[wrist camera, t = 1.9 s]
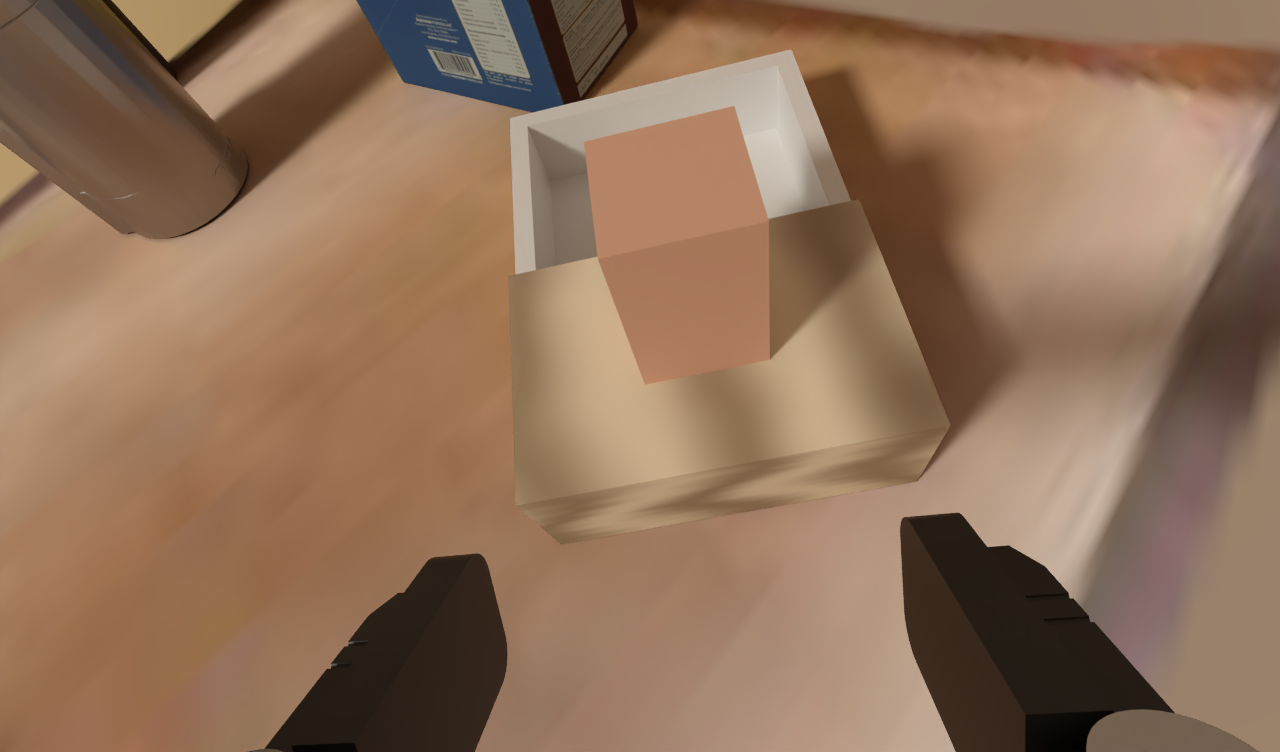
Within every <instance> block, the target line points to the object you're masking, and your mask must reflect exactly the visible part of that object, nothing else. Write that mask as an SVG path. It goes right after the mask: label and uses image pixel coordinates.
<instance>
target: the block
mask: <svg viewBox="0 0 1280 752" xmlns="http://www.w3.org/2000/svg"><path fill="white" fill-rule="evenodd" d="M584 148H585V157H586V165H587V173H588V182H589V190H590V199H591V207H592V215H593V224H594V232H595V240H596V249H597V257H598V261H599V264H600V266H601V269H602V272H603V274H604V277H605V280H606V282H607V285H608V288H609V290H610V293H611V296H612V298H613V301H614V304H615V306H616V309H617V312H618V314H619V317H620V320H621V322H622V325H623V328H624V330H625V333H626V336H627V338H628V341H629V344H630V346H631V349H632V352H633V354H634V357H635V360H636V362H637V365H638V368H639V370H640V373H641V376H642V378H643V381H644V384H645V385H646V384H651V383H656V382H661V381H666V380H671V379H676V378H681V377H686V376H691V375H697V374H702V373H707V372H712V371H717V370H722V369H727V368H732V367H737V366H742V365H747V364H752V363H757V362H762V361H767V360H770V310H769V220H768V216H767V213H766V210H765V207H764V203H763V200H762V197H761V193H760V190H759V187H758V183H757V180H756V177H755V173H754V170H753V167H752V163H751V160H750V157H749V153H748V150H747V147H746V144H745V140H744V137H743V134H742V130H741V127H740V124H739V120H738V117H737V114H736V110H735V107H734V106H731V107H727V108H723V109H719V110H715V111H710V112H706V113H702V114H698V115H694V116H689V117H685V118H681V119H677V120H673V121H668V122H664V123H660V124H656V125H652V126H647V127H643V128H639V129H635V130H631V131H626V132H622V133H618V134H614V135H610V136H605V137H601V138H597V139H593V140H589V141H584Z"/></svg>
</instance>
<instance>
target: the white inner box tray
mask: <svg viewBox="0 0 1280 752" xmlns="http://www.w3.org/2000/svg"><path fill="white" fill-rule="evenodd" d="M731 106H734V107H735V110H736V114H737V117H738V120H739V124H740V127H741V130H742V134H743V137H744V140H745V144H746V147H747V150H748V153H749V157H750V160H751V163H752V167H753V170H754V173H755V177H756V180H757V183H758V187H759V190H760V193H761V197H762V200H763V203H764V207H765V210H766V213H767V216H768V219H770V218H775V217H779V216H784V215H788V214H793V213H798V212H802V211H807V210H811V209H816V208H820V207H825V206H829V205H834V204H838V203H843V202H848V201H851V199H850V197H849V194H848V192H847V189H846V187H845V184H844V182H843V179H842V177H841V174H840V171H839V169H838V166H837V164H836V161H835V159H834V156H833V154H832V151H831V149H830V146H829V144H828V141H827V139H826V136H825V134H824V131H823V128H822V126H821V123H820V121H819V118H818V116H817V113H816V111H815V108H814V106H813V103H812V101H811V98H810V96H809V93H808V91H807V88H806V85H805V83H804V80H803V78H802V75H801V73H800V70H799V68H798V65H797V63H796V60H795V58H794V55H793V53H792V50H787V51H783V52H779V53H775V54H770V55H766V56H762V57H758V58H754V59H750V60H746V61H742V62H738V63H734V64H730V65H725V66H721V67H717V68H713V69H709V70H705V71H701V72H697V73H693V74H689V75H685V76H680V77H676V78H672V79H668V80H664V81H660V82H656V83H652V84H648V85H644V86H640V87H635V88H631V89H627V90H623V91H619V92H615V93H611V94H607V95H603V96H599V97H595V98H590V99H586V100H582V101H578V102H574V103H570V104H566V105H562V106H558V107H554V108H550V109H545V110H541V111H537V112H533V113H529V114H525V115H521V116H517V117H513V118H510V135H511V162H512V189H513V216H514V243H515V270H516V274H520V273H525V272H529V271H534V270H539V269H543V268H548V267H552V266H557V265H561V264H566V263H570V262H575V261H579V260H584V259H589V258H593V257H597V249H596V240H595V232H594V224H593V215H592V207H591V199H590V190H589V182H588V173H587V165H586V157H585V148H584V141H589V140H593V139H597V138H601V137H605V136H610V135H614V134H618V133H622V132H626V131H631V130H635V129H639V128H643V127H647V126H652V125H656V124H660V123H664V122H668V121H673V120H677V119H681V118H685V117H689V116H694V115H698V114H702V113H706V112H710V111H715V110H719V109H723V108H727V107H731Z"/></svg>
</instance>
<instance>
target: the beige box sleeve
mask: <svg viewBox="0 0 1280 752" xmlns="http://www.w3.org/2000/svg"><path fill="white" fill-rule="evenodd" d="M768 220H769V310H770V360H767V361H762V362H757V363H752V364H747V365H742V366H737V367H732V368H727V369H722V370H717V371H712V372H707V373H702V374H697V375H691V376H686V377H681V378H676V379H671V380H666V381H661V382H656V383H651V384H646V385H645V384H644V381H643V378H642V376H641V373H640V370H639V368H638V365H637V362H636V360H635V357H634V354H633V352H632V349H631V346H630V344H629V341H628V338H627V336H626V333H625V330H624V328H623V325H622V322H621V320H620V317H619V314H618V312H617V309H616V306H615V304H614V301H613V298H612V296H611V293H610V290H609V288H608V285H607V282H606V280H605V277H604V274H603V272H602V269H601V266H600V264H599V261H598V257H593V258H589V259H584V260H579V261H575V262H570V263H566V264H561V265H557V266H552V267H548V268H543V269H539V270H534V271H529V272H525V273H520V274H516V275H511V276H509V302H510V335H511V368H512V401H513V434H514V467H515V500H516V506H517V507H518V508H519V509H520V510H521V511H523V512H524V513H525V514H526V515H527V516H529V517H530V518H531V519H532V520H533V521H534V522H536V523H537V524H538V525H539V526H540V527H541V528H543V529H544V530H545V531H546V532H547V533H548V534H550V535H551V536H552V537H553V538H554V539H556V540H557V541H558V542H559V543H560V544H565V543H571V542H577V541H582V540H588V539H594V538H599V537H605V536H611V535H616V534H622V533H628V532H633V531H639V530H645V529H650V528H656V527H661V526H667V525H673V524H678V523H684V522H690V521H695V520H701V519H707V518H712V517H718V516H724V515H729V514H735V513H740V512H746V511H752V510H757V509H763V508H769V507H774V506H780V505H786V504H791V503H797V502H803V501H808V500H814V499H820V498H825V497H831V496H836V495H842V494H848V493H853V492H859V491H865V490H870V489H876V488H882V487H887V486H893V485H899V484H904V483H910V482H915V481H918V479H919V478H920V476H921V474H922V473H923V471H924V469H925V468H926V466H927V464H928V463H929V461H930V459H931V458H932V456H933V454H934V453H935V451H936V449H937V448H938V446H939V444H940V442H941V441H942V439H943V437H944V436H945V434H946V432H947V431H948V429H949V427H950V426H951V425H950V422H949V420H948V417H947V415H946V412H945V410H944V407H943V405H942V402H941V400H940V398H939V395H938V393H937V390H936V388H935V385H934V383H933V380H932V378H931V375H930V373H929V370H928V368H927V365H926V363H925V360H924V358H923V356H922V353H921V351H920V348H919V346H918V343H917V341H916V338H915V336H914V333H913V331H912V328H911V326H910V323H909V321H908V318H907V316H906V313H905V311H904V309H903V306H902V304H901V301H900V299H899V296H898V294H897V291H896V289H895V286H894V284H893V281H892V279H891V276H890V274H889V271H888V269H887V267H886V264H885V262H884V259H883V257H882V254H881V252H880V249H879V247H878V244H877V242H876V239H875V237H874V234H873V232H872V229H871V227H870V224H869V222H868V220H867V217H866V215H865V212H864V210H863V207H862V205H861V202H860V200H859V199H857V200H852V201H848V202H843V203H838V204H834V205H829V206H825V207H820V208H816V209H811V210H807V211H802V212H798V213H793V214H788V215H784V216H779V217H775V218H770V219H768Z"/></svg>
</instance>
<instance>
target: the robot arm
mask: <svg viewBox="0 0 1280 752" xmlns="http://www.w3.org/2000/svg"><path fill="white" fill-rule="evenodd" d="M0 143H2V144H3V145H4V146H6V147H7V148H8V149H10V150H11V151H12V152H14V153H15V154H16V155H18V156H19V157H20V158H22V159H23V160H24V161H26V162H27V163H28V164H30V165H31V166H32V167H34V168H35V169H36V170H38V171H39V172H40V173H42V174H43V175H44V176H46V177H47V178H48V179H50V180H51V181H52V182H53V183H55V184H56V185H57V186H59V187H60V188H61V189H63V190H64V191H65V192H67V193H68V194H69V195H71V196H72V197H73V198H75V199H76V200H77V201H79V202H80V203H81V204H83V205H84V206H85V207H87V208H88V209H89V210H91V211H92V212H93V213H95V214H96V215H97V216H99V217H100V218H101V219H103V220H104V221H105V222H107V223H108V224H109V225H111V226H112V227H113V228H115V229H116V230H117V231H119V232H120V233H121V234H126V233H131V232H135V233H138V234H140V235H142V236H144V237H147V238H153V239H163V238H170V237H175V236H179V235H182V234H184V233H187V232H190V231H192V230H194V229H196V228H198V227H200V226H202V225H203V224H205V223H207V222H208V221H210V220H211V219H212V218H214V217H215V216H217V215H218V214H219V213H220V212H221V211H222V210H223V209H225V208H226V207H227V206H228V205H229V204H230V202H231V201H232V200H233V199H234V198H235V196H236V195H237V194H238V192H239V190H240V189H241V187H242V186H243V183H244V181H245V178H246V175H247V168H248V165H247V160H246V157H245V155H244V154H243V152H242V151H241V150H240V149H239V148H238V147H237V146H236V145H235V144H234V142H233V141H232V140H231V139H230V138H229V137H228V136H227V135H226V134H225V133H224V132H223V131H222V129H221V128H220V127H219V126H218V125H217V124H216V123H215V122H214V121H213V120H212V119H211V118H210V117H209V115H208V114H207V113H206V112H205V111H204V110H203V109H202V108H201V107H200V105H199V104H198V103H197V102H196V101H195V100H194V99H193V98H192V97H191V96H190V95H189V94H188V93H187V91H186V90H185V89H184V88H183V87H182V86H181V85H180V84H179V83H178V82H177V81H176V80H175V79H174V77H173V76H172V75H171V74H170V73H169V72H168V71H167V70H166V69H165V68H164V67H163V66H162V65H161V63H160V62H159V61H158V60H157V59H156V58H155V57H154V56H153V55H152V54H151V53H150V52H149V51H148V49H147V48H146V47H145V46H144V45H143V44H142V43H141V42H140V41H139V40H138V39H137V38H136V37H135V36H134V34H133V33H132V32H131V31H130V30H129V29H128V28H127V27H126V26H125V25H124V24H123V23H122V22H121V20H120V19H119V18H118V17H117V16H116V15H115V14H114V13H113V12H112V11H111V10H110V9H109V8H108V6H107V5H106V4H105V3H104V2H103V1H102V0H0ZM900 537H901V556H902V576H903V595H904V613H905V621H906V627H907V632H908V637H909V641H910V645H911V648H912V652H913V654H914V657H915V660H916V662H917V664H918V667H919V669H920V671H921V674H922V676H923V678H924V680H925V683H926V685H927V687H928V689H929V692H930V694H931V696H932V699H933V701H934V703H935V705H936V708H937V710H938V712H939V714H940V717H941V719H942V721H943V724H944V726H945V728H946V730H947V733H948V735H949V737H950V739H951V742H952V744H953V746H954V749H955V751H956V752H1259V751H1257V750H1256V749H1254V748H1253V747H1252V746H1250V745H1249V744H1247V743H1245V742H1244V741H1242V740H1240V739H1238V738H1236V737H1235V736H1233V735H1231V734H1229V733H1227V732H1225V731H1223V730H1221V729H1219V728H1217V727H1215V726H1212V725H1209V724H1207V723H1204V722H1202V721H1199V720H1196V719H1193V718H1189V717H1186V716H1182V715H1179V714H1175V713H1174V712H1173V710H1172V709H1171V708H1170V707H1169V706H1168V705H1167V704H1166V703H1165V701H1164V700H1163V699H1162V698H1161V697H1160V696H1159V695H1158V694H1157V692H1156V691H1155V690H1154V689H1153V688H1152V687H1151V686H1150V684H1149V683H1148V682H1147V681H1146V680H1145V679H1144V678H1143V677H1142V675H1141V674H1140V673H1139V672H1138V671H1137V670H1136V669H1135V668H1134V666H1133V665H1132V664H1131V663H1130V662H1129V661H1128V660H1127V659H1126V657H1125V656H1124V655H1123V654H1122V653H1121V652H1120V651H1119V650H1118V648H1117V647H1116V646H1115V645H1114V644H1113V643H1112V642H1111V640H1110V639H1109V638H1108V637H1107V636H1106V635H1105V634H1104V633H1103V631H1102V630H1101V629H1100V628H1099V627H1098V626H1097V625H1096V624H1095V622H1090V620H1089V616H1088V615H1087V613H1086V612H1085V611H1084V610H1083V609H1082V608H1081V607H1080V605H1079V604H1078V603H1077V602H1076V601H1075V600H1074V599H1070V598H1069V593H1068V592H1067V591H1066V590H1065V589H1064V587H1063V586H1062V585H1061V584H1060V583H1059V582H1058V581H1057V580H1056V578H1055V577H1054V576H1053V575H1052V574H1051V573H1050V572H1049V571H1048V569H1047V568H1046V567H1045V566H1043V565H1042V564H1040V563H1038V562H1036V561H1035V560H1033V559H1031V558H1029V557H1028V556H1026V555H1024V554H1022V553H1021V552H1019V551H1017V550H1016V549H1014V548H1012V547H1010V546H997V547H987V546H986V545H985V544H984V542H983V541H982V540H981V539H980V537H979V536H978V535H977V533H976V532H975V531H974V529H973V528H972V527H971V526H970V524H969V523H968V522H967V520H966V519H965V518H964V517H963V516H962V515H961V514H960V513H949V514H937V515H926V516H914V517H904V518H903V519H902V521H901V527H900ZM348 642H349V645H348V647H344V648H343V649H342V650H341V652H340V653H339V654H338V655H337V657H336V658H335V659H334V661H333V662H332V663H331V664H332V666H331V669H326V671H325V672H324V673H323V675H322V676H321V677H320V678H319V680H318V681H317V682H316V684H315V685H314V686H313V687H312V689H311V690H310V691H309V692H308V694H307V695H306V696H305V698H304V699H303V700H302V701H301V703H300V704H299V705H298V707H297V708H296V709H295V710H294V712H293V713H292V714H291V715H290V717H289V718H288V719H287V721H286V722H285V723H284V724H283V726H282V727H281V728H280V730H279V731H278V732H277V733H276V735H275V736H274V737H273V738H272V740H271V741H270V742H269V744H268V745H267V746H266V747H265V749H259V750H254V751H249V752H475V750H476V747H477V745H478V742H479V740H480V738H481V735H482V733H483V730H484V728H485V725H486V723H487V720H488V718H489V716H490V713H491V711H492V708H493V706H494V703H495V701H496V698H497V696H498V693H499V691H500V689H501V686H502V684H503V681H504V677H505V673H506V667H507V642H506V636H505V632H504V628H503V624H502V620H501V616H500V612H499V608H498V604H497V600H496V596H495V592H494V588H493V584H492V580H491V576H490V572H489V568H488V565H487V563H486V560H485V559H484V557H483V556H482V555H480V554H467V555H456V556H444V557H434V558H431V559H429V560H428V561H427V562H426V564H425V565H424V566H423V568H422V569H421V570H420V572H419V573H418V574H417V576H416V577H415V579H414V580H413V581H412V583H411V584H410V585H409V587H408V588H407V589H406V591H405V592H404V593H398V594H396V595H395V596H394V597H392V598H391V599H390V600H388V601H387V602H386V603H385V604H383V605H382V606H381V607H379V608H378V609H377V610H375V611H374V612H373V613H372V614H370V615H369V616H368V617H367V618H366V620H365V621H364V622H363V623H362V625H361V626H360V627H359V629H358V630H357V631H356V632H355V634H354V635H353V636H352V638H351V639H350V640H349V641H348Z"/></svg>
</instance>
